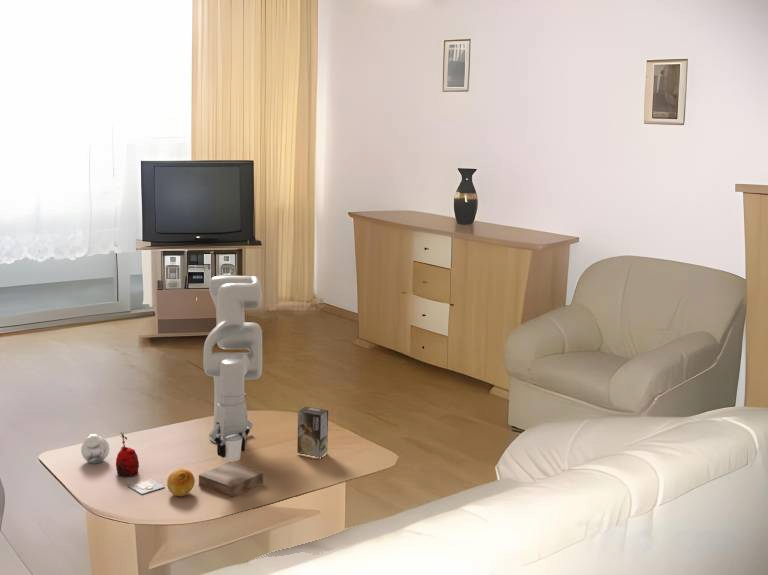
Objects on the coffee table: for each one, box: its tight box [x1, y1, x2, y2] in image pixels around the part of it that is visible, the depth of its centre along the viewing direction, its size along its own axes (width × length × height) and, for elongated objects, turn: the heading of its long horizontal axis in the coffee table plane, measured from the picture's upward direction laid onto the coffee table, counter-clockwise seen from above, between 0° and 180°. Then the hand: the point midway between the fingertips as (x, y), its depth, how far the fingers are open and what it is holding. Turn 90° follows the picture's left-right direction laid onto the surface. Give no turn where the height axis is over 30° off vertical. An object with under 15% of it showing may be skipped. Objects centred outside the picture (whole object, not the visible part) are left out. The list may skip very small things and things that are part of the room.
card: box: [127, 478, 165, 496], centre depth 273 cm, size 8×8×1 cm
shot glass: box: [221, 434, 242, 463], centre depth 276 cm, size 7×7×7 cm
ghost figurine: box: [80, 433, 110, 464], centre depth 290 cm, size 9×9×10 cm
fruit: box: [166, 468, 196, 497], centre depth 269 cm, size 8×8×8 cm
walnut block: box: [198, 461, 264, 498], centre depth 278 cm, size 14×14×4 cm
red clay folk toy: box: [115, 432, 140, 477], centre depth 281 cm, size 8×7×15 cm
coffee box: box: [296, 406, 329, 458], centre depth 304 cm, size 9×6×16 cm
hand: (231, 452), depth 276 cm, fingers closed on shot glass, 6 cm apart
